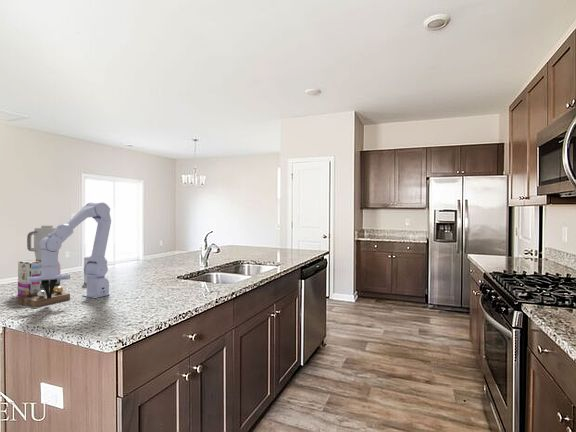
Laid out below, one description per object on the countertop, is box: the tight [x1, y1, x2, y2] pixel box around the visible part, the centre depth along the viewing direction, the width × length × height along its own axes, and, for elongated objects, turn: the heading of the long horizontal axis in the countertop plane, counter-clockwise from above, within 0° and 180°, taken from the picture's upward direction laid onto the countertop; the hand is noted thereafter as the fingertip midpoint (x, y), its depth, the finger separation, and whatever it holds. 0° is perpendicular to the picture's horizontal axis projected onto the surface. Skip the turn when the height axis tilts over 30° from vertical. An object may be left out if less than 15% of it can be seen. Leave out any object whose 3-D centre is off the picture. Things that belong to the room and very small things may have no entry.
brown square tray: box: [16, 291, 71, 308], centre depth 146 cm, size 14×14×2 cm
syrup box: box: [83, 256, 90, 284], centre depth 187 cm, size 6×6×14 cm
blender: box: [26, 224, 61, 288], centre depth 176 cm, size 16×12×32 cm
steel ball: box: [37, 289, 46, 298], centre depth 142 cm, size 3×3×3 cm
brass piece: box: [55, 286, 64, 294], centre depth 149 cm, size 3×3×3 cm
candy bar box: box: [17, 259, 42, 297], centre depth 153 cm, size 11×5×16 cm, turn 62°
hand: (49, 297), depth 140 cm, fingers closed
